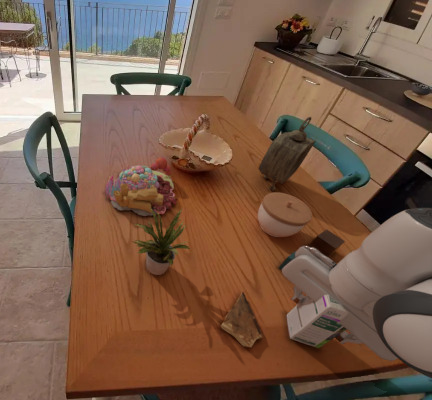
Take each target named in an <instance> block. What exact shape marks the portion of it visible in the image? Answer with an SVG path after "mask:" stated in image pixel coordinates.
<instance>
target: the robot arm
mask: <svg viewBox="0 0 432 400" xmlns="http://www.w3.org/2000/svg"><path fill="white" fill-rule="evenodd" d="M296 250H297V251H296ZM296 250H295V251H296V253H295V257H296V258H295V259H293V260H292V261H291V262H289V263H288V264H287V265H286V266H285V267H284V268H283V269H282V270H281V272H282V274H281V275H282V276H283V277H284V278H285V279H287V281H288V282H290V283H291V284H292V285H294V286H292V287H293V296H292V297H291V298H290V299H291V300H292V301H293V302H294V303H295V304H296V305H297V304H298V303H299V302H301V301H302V300H303V299H304V298H305V297H306V296H308V297H309V298H310V299H312V300H313V301H314V302H317V301H318V300H319V299H321V298H322V297H323V296H324V295H329V296H330V297H331V298H332V299H334V300H335V301H336V302H337V303H338V304H339V305H341V306H342V307H343V308H344V309H345V310H346V311H347V312H348V314H347V315H346V316H345V317H344V318H343V319H342V320H340V322H339V323H340V324H341V325H342V326H343V327H345V328H346V329H347V330H345V331H344V332H343V333H341V334H339V335H338V336H336V337H335V338H334V339H336V340H337V342H339V343H340V344H341V345H345V344H346V343H351V344H356V345H361V344H364V345H365V346H366V347H367V348H368V349H369V350H370V351H372V352H373V353H374V354H375V355H376V356H378V357H379V358H380V359H382V360H385V361H389V362H394V361H396V360H399V361H400V362H401V363H403V364H404V365H406V366H408V367H409V368H411V369H412V370H414V371H416V372H417V373H419V374H421V375H423V376H425V377H427V378H430V379H432V207H416V208H415V207H413V208H409V209H405V210H402V211H400V212H398V213H396V214H394V215H392V216H390V218H388V219H387V220H385V221H384V222H382V224H380V225H379V226H378V227H376V228H375V229H374V230H373V231H371V233H369V234H368V235H367V236H366V237H365V238H364V239H363V240H362V242H361V244H360V246H359V248H357V249H354V250H352V251H350V252H349V253H348V254H345V256H344V257H343V258H342V259H341V260H340V261H338V263H337V262H335V260H333V259H332V258H330V257H326V256H325V255H323V254H322V253H321V252H320V251H319V250H317V249H316V248H314V247H312V248H311V247H309V245H301V246H299V247H298V248H297V249H296ZM347 331H348V332H347Z"/></svg>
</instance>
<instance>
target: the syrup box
mask: <svg viewBox="0 0 432 400" xmlns="http://www.w3.org/2000/svg"><path fill="white" fill-rule="evenodd" d="M347 314H348V312H347V311H346V310H345V309H344V308H343V307H342V306H341V305H339V304H338V303H337V302H336V301H335V300H334V299H332V298H331V297H330V296H329V295H324V296H323V297H322V298H321V299H319V300H318V301H317V302H314V301H313V300H312V299H310V298H309V297H308V296H307V295H305V298H304V299H303V300H302V301H301V302H299V303H298V304H296V305H295V306H294V307H293V308H292V309H290V311H289V312H288V313H287V314H286V323H287V329H288V335H289V339H290V340H293V341H296V342H299V343H302V344H304V345H308V346H309V347H310V346H311V347H314V348H316V349H320V348H322V347H323V346H325V345H326V344H327V343H329V342H331V341H332V340H334V339H336V338H335V337H336V336H338V335H339V334H341V333H343V332H344V331H348V330H347V329H346V328H345V327H343V326H342V325H341V324H340V323H339V322H340V320H342V319H343V318H344V317H345V316H346V315H347Z"/></svg>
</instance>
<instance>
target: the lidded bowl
mask: <svg viewBox="0 0 432 400" xmlns="http://www.w3.org/2000/svg"><path fill="white" fill-rule="evenodd" d="M312 218H313V213H312V211H311V208H310V207H309V206H308V205H307V204H306V203H305V202H304V201H302V200H301V199H299V198H298V197H296V196H293V195H291V194H289V193H284V192H278V191H277V192H276V191H274V192H269V193H267V194H266V195H264V197H263V199H262V201H261V203H260V205H259V207H258V210H257V220H258V223H259V226H260V228H261V229H262V230H263V232H264V233H265V234H267V235H269V236H271V237H274V238H287V237H291V236H294V235H296V234H298V233H299V232H301V231H302V230H303V229H304V228H305V227H306V226H307V224H309V223H310V222H311V221H312Z"/></svg>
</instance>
